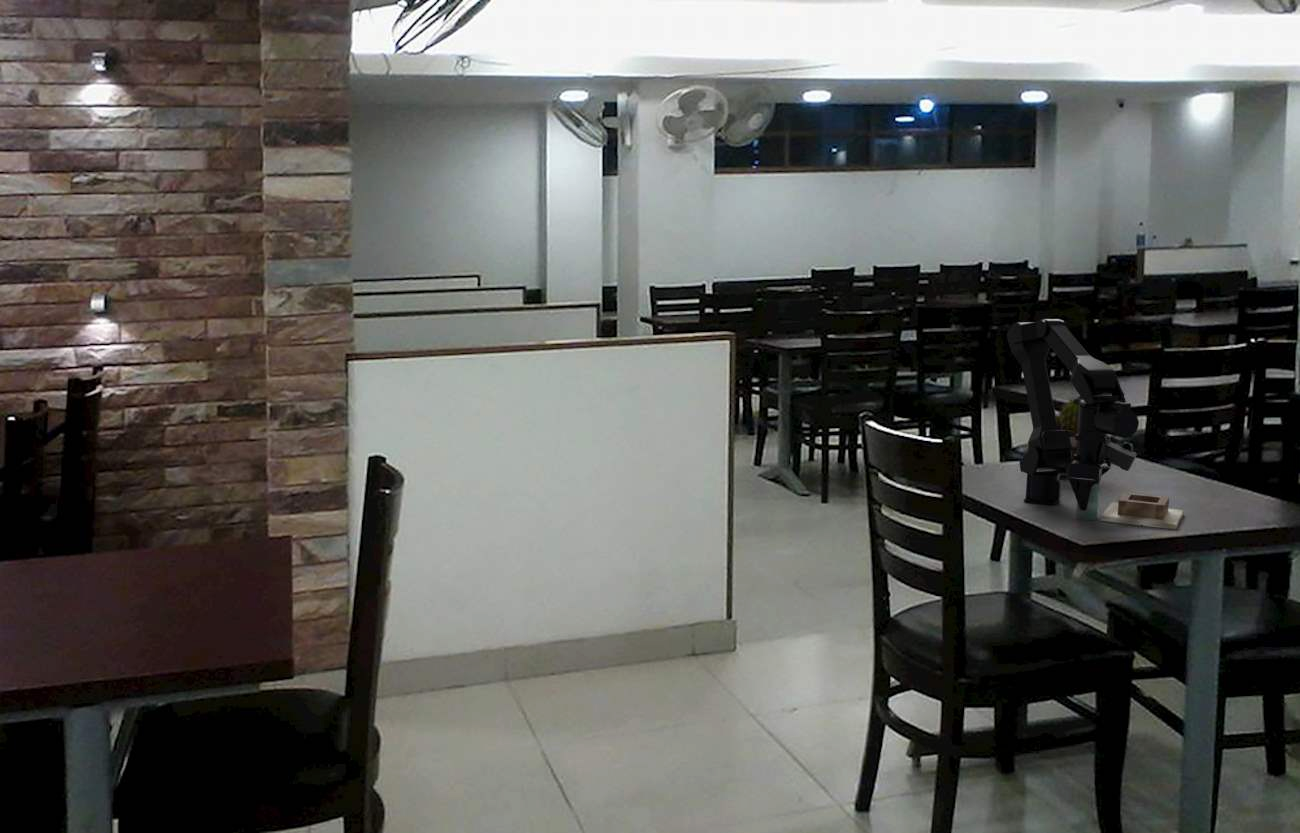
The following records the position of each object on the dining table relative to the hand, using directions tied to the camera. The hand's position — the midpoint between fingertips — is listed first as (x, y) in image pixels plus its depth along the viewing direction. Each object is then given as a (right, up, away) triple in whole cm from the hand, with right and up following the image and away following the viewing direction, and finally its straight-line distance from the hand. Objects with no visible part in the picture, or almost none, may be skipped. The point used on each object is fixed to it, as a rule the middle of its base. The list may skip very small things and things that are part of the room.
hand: (1087, 505), depth 260 cm
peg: (0, -3, 0) cm, 2 cm away
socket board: (+12, -3, +1) cm, 12 cm away
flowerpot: (+9, +4, +42) cm, 43 cm away
